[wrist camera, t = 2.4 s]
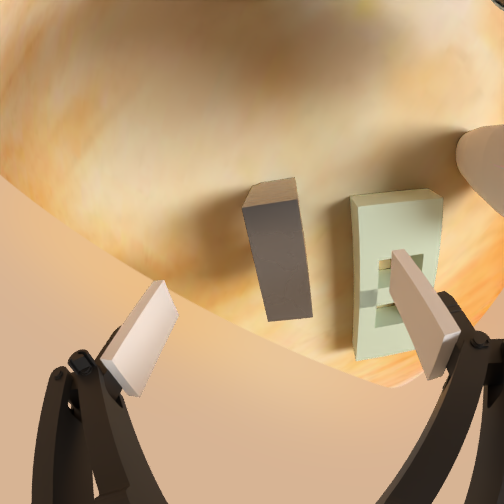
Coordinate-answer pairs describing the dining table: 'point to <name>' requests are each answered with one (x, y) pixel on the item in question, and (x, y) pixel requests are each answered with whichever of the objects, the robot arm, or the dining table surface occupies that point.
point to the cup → (484, 163)
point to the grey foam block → (279, 249)
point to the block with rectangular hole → (380, 248)
